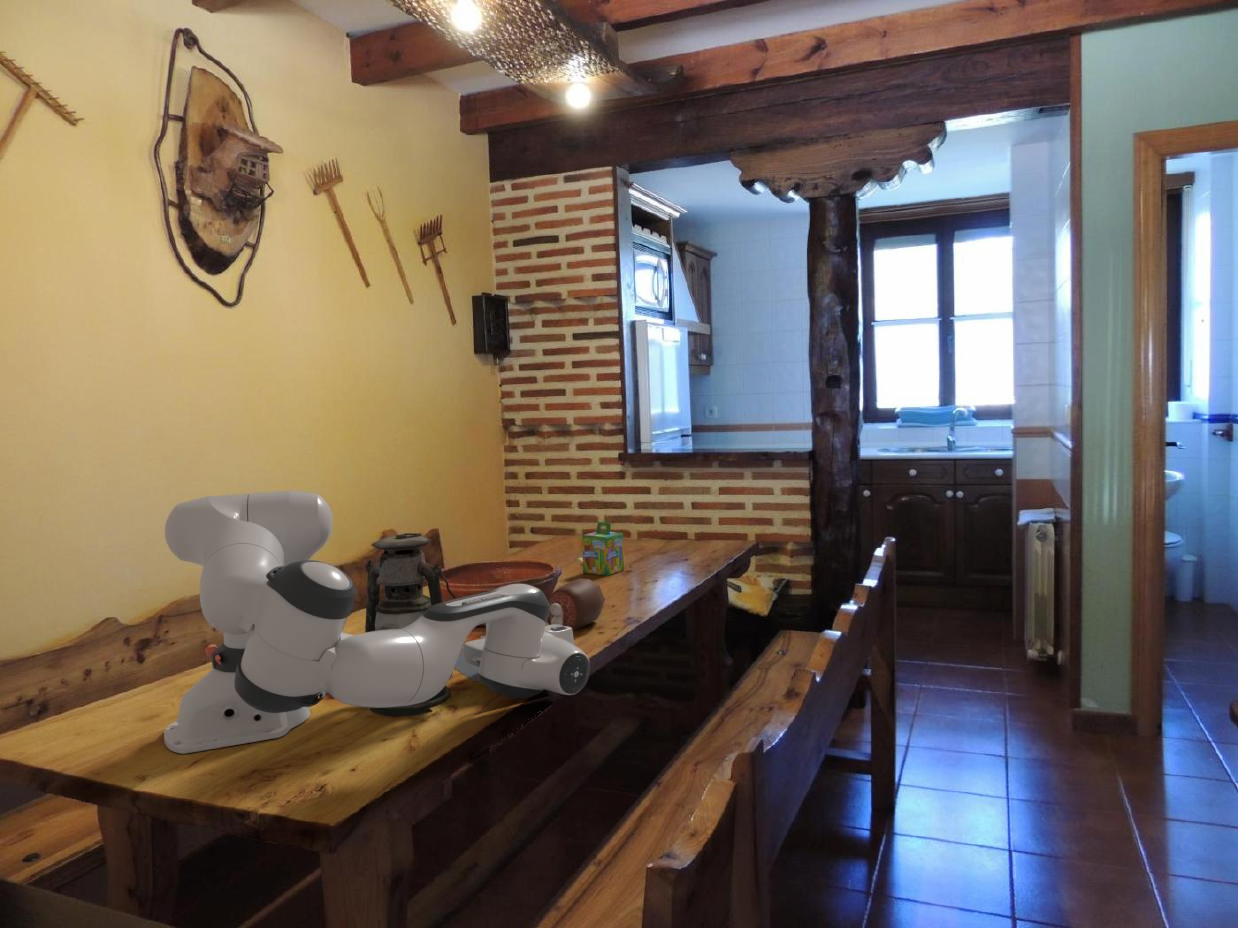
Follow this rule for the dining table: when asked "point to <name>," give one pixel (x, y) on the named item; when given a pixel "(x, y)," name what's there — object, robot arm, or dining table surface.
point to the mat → (467, 668)
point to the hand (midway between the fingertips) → (500, 636)
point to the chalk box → (603, 551)
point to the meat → (575, 604)
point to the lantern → (403, 599)
